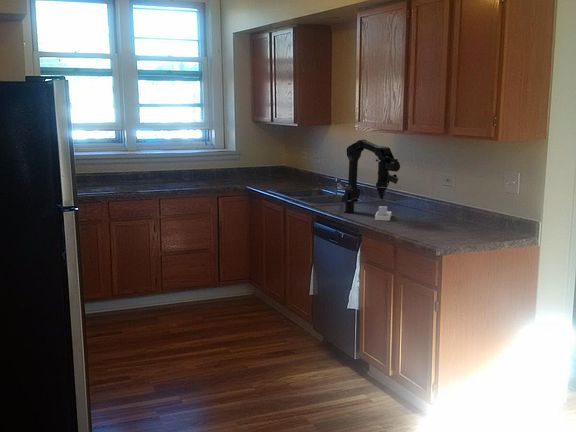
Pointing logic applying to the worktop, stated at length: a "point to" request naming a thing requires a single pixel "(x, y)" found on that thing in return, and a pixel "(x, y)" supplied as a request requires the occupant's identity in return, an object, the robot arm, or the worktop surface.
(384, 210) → the box
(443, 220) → the worktop surface
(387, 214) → the power strip
